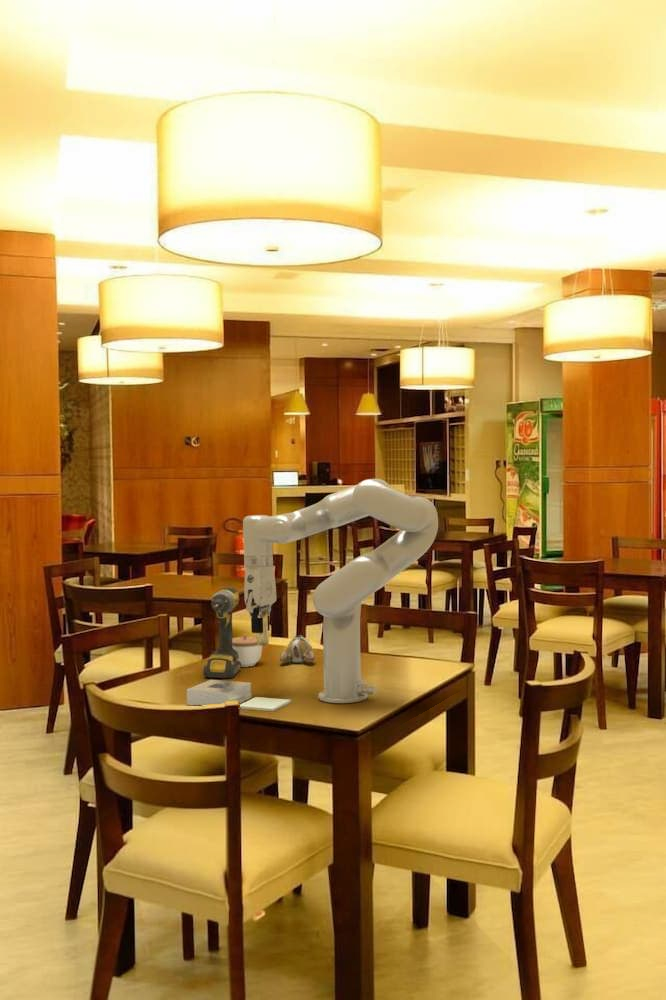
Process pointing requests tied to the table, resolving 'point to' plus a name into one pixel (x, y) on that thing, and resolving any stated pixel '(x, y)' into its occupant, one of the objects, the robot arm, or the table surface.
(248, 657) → the lidded jar
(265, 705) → the mat
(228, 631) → the cordless drill
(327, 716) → the table surface
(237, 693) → the plate
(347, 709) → the table surface
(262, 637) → the metal bolt
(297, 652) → the ceramic sculpture
